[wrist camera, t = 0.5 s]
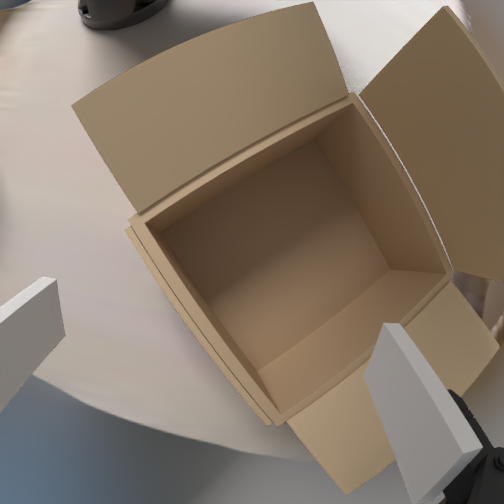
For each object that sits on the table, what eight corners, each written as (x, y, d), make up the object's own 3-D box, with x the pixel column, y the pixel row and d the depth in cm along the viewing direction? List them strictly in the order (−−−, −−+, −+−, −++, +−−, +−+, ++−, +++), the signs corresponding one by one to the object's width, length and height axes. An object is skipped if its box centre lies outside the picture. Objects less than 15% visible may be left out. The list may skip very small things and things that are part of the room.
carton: (284, 425, 37) (332, 506, 20) (109, 173, 34) (50, 116, 17) (417, 318, 41) (504, 342, 24) (275, 81, 37) (318, -2, 20)
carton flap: (567, 300, 12) (570, 295, 12) (442, 6, 10) (447, 5, 10) (454, 270, 28) (457, 267, 28) (358, 94, 26) (362, 92, 26)
